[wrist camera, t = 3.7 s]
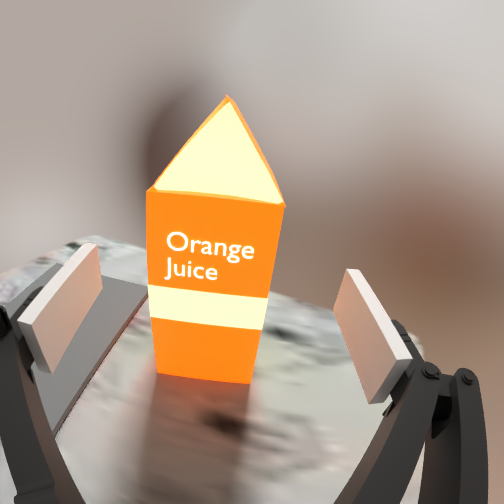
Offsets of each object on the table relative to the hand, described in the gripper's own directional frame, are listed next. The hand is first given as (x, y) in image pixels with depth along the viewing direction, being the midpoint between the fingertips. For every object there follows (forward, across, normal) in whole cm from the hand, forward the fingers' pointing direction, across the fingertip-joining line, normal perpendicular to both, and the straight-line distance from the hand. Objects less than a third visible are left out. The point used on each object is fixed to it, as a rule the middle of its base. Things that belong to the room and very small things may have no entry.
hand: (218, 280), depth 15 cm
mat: (+4, -16, -11) cm, 20 cm away
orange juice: (+7, 0, -11) cm, 13 cm away
